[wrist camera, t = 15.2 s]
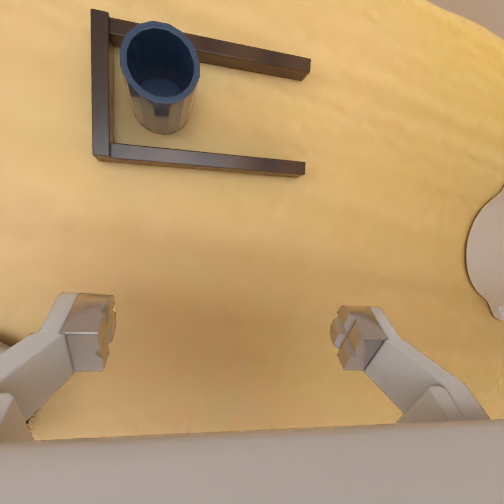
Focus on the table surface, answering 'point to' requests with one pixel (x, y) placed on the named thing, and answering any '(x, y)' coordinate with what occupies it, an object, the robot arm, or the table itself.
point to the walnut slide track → (208, 51)
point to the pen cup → (159, 75)
